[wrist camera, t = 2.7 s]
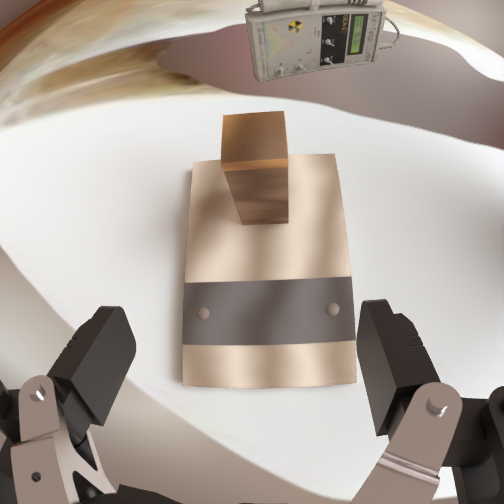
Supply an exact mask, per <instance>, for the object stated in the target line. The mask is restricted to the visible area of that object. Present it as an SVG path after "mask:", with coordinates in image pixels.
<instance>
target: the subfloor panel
mask: <svg viewBox="0 0 504 504" xmlns="http://www.w3.org/2000/svg"><path fill="white" fill-rule="evenodd" d="M220 162H221V160H212V161H202V162H193V172H192V182H191V193H190V205H189V217H188V231H187V246H186V263H185V283H184V302H183V343H182V344H183V386H197V387H218V388H291V387H312V386H327V385H340V384H351V383H357V376H356V342H355V340H356V337H355V318H354V303H353V290H352V278H351V270H350V260H349V250H348V242H347V233H346V225H345V218H344V210H343V203H342V196H341V190H340V183H339V177H338V171H337V165H336V160H335V154H303V155H288V163H289V167H288V200H289V223H284V224H262V225H243V226H242V223H241V220H240V217H239V214H238V211H237V209H236V206H235V203H234V200H233V197H232V194H231V191H230V188H229V185H228V183H227V180H226V177H225V174H224V171H223V170H222V167H221V164H220Z"/></svg>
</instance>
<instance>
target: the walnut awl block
mask: <svg viewBox="0 0 504 504" xmlns="http://www.w3.org/2000/svg"><path fill="white" fill-rule="evenodd" d="M220 164H221V167H222V170H223V171H224V174H225V177H226V180H227V183H228V185H229V188H230V191H231V194H232V197H233V200H234V203H235V206H236V209H237V211H238V214H239V217H240V220H241V223H242V226H243V225H262V224H284V223H289V200H288V167H289V163H288V148H287V138H286V127H285V117H284V111H273V112H258V113H245V114H234V115H224V116H223V126H222V143H221V162H220Z"/></svg>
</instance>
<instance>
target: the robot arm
mask: <svg viewBox="0 0 504 504" xmlns="http://www.w3.org/2000/svg"><path fill="white" fill-rule="evenodd" d="M356 346H357V355H358V359H359V363H360V367H361V371H362V375H363V379H364V383H365V387H366V391H367V395H368V399H369V404H370V408H371V413H372V417H373V422H374V426H375V431H376V436H382V435H388V438H389V442H390V443H389V444H388V446H387V448H386V449H385V451H384V453H383V454H382V456H381V457H380V459H379V461H378V462H377V464H376V465H375V467H374V469H373V470H372V472H371V473H370V475H369V476H368V478H367V479H366V481H365V482H364V484H363V485H362V487H361V488H360V490H359V491H358V493H357V494H356V496H355V497H354V498H353V500H352V501H351V502H350V504H430V502H431V501H432V498H433V496H434V494H435V492H436V490H437V488H438V485H439V482H440V477H438V473H439V470H440V468H441V467H452V471H453V476H454V481H455V486H456V491H457V496H458V501H459V504H504V386H501V387H498V388H497V389H495V390H494V391H493V392H492V394H491V395H490V397H489V398H488V399H473V398H462V397H460V395H459V394H458V392H457V391H456V390H455V389H454V388H452V387H451V386H449V385H447V384H444V383H441V381H440V379H439V377H438V375H437V372H436V370H435V368H434V366H433V364H432V361H431V359H430V357H429V355H428V353H427V351H426V349H425V347H424V346H423V343H422V341H421V338H420V337H418V332H417V330H416V328H415V327H414V325H413V323H412V322H411V321H410V320H409V319H408V318H407V317H405V316H404V315H403V314H402V313H399V314H393V312H392V310H391V307H390V305H389V303H388V301H387V300H386V299H380V300H368V301H363V302H362V305H361V312H360V319H359V326H358V332H357V340H356ZM135 354H136V341H135V338H134V336H133V333H132V330H131V328H130V325H129V323H128V320H127V317H126V315H125V312H124V310H123V308H122V307H120V306H101V307H99V308H98V310H97V311H96V312H95V314H94V315H93V317H92V318H91V319H89V320H88V321H87V322H85V323H84V324H83V325H82V326H80V327H79V328H78V330H77V331H76V332H75V334H74V335H73V337H72V340H70V341H69V343H68V344H67V347H65V348H64V350H63V351H62V353H61V354H60V356H59V357H58V359H57V360H56V362H55V363H54V365H53V366H52V368H51V369H50V371H49V372H48V374H47V375H46V376H42V375H40V376H35V377H33V378H31V379H29V380H28V381H27V382H25V383H24V385H23V386H22V388H21V389H15V390H7V388H6V387H5V386H4V384H3V383H2V382H1V380H0V431H1V432H2V433H3V434H4V435H5V436H6V437H7V438H6V441H5V443H4V445H3V447H2V449H1V451H0V504H181V503H179V502H176V501H174V500H172V499H169V498H167V497H165V496H162V495H160V494H158V493H155V492H151V491H146V490H142V489H137V488H133V487H129V486H125V485H121V484H120V485H119V488H118V491H117V493H116V491H115V490H114V488H113V487H112V485H111V484H110V483H109V481H108V480H107V478H106V476H105V474H104V472H103V469H102V466H101V463H100V460H99V457H98V455H97V451H96V448H95V445H94V442H93V439H92V435H91V433H90V431H89V430H88V428H89V426H90V424H95V425H99V426H103V425H104V423H105V421H106V419H107V416H108V414H109V412H110V409H111V407H112V405H113V403H114V400H115V398H116V396H117V394H118V391H119V389H120V387H121V385H122V383H123V380H124V378H125V376H126V374H127V372H128V370H129V367H130V365H131V363H132V361H133V359H134V357H135ZM241 504H250V503H241ZM251 504H252V503H251Z"/></svg>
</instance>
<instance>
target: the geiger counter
mask: <svg viewBox="0 0 504 504" xmlns="http://www.w3.org/2000/svg"><path fill="white" fill-rule="evenodd" d="M383 1H384V0H258V4H255V5H253V6H251V7H250V8H246V11H247V12H249V13H246V14H245V18H246V24H247V30H248V37H249V43H250V50H251V57H252V63H253V71H254V77H255V78H256V79H257V80H258V81H259V82H264V81H268V80H273V79H277V78H282V77H287V76H292V75H297V74H302V73H308V72H313V71H320V70H326V69H333V68H340V67H347V66H355V65H365V64H374V63H376V59H377V55H378V51H379V49H386V48H392V46H393V45H395V44H396V43H397V42H398V41H399V38H400V31H399V29H398V28H397V26H396V25H395V23H394V22H393V21H392V20H390V19H389V18H387V17H386V16H385V15H386V10H385V9H384V7H383V6H381V5H382V4H383ZM257 7H260V10H261V11H252V10H253V9H254V8H257ZM385 19H386V20H388V21H389V22H390V23H392V25H393V26H394V27H395V29H396V30H397V39H396V40H395V41H394V42H393V43H391V42H380V41H381V36H382V31H383V26H384V21H385Z"/></svg>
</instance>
